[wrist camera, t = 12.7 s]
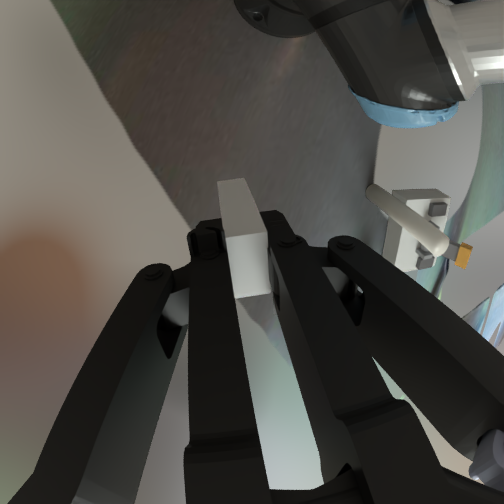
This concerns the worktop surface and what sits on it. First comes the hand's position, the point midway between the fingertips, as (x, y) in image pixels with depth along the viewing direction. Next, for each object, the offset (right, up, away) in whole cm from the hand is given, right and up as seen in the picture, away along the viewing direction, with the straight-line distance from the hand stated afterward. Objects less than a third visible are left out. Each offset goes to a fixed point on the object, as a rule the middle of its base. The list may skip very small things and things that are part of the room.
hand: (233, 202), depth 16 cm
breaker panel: (+34, +3, +39) cm, 52 cm away
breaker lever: (+35, 0, +33) cm, 48 cm away
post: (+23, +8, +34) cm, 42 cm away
